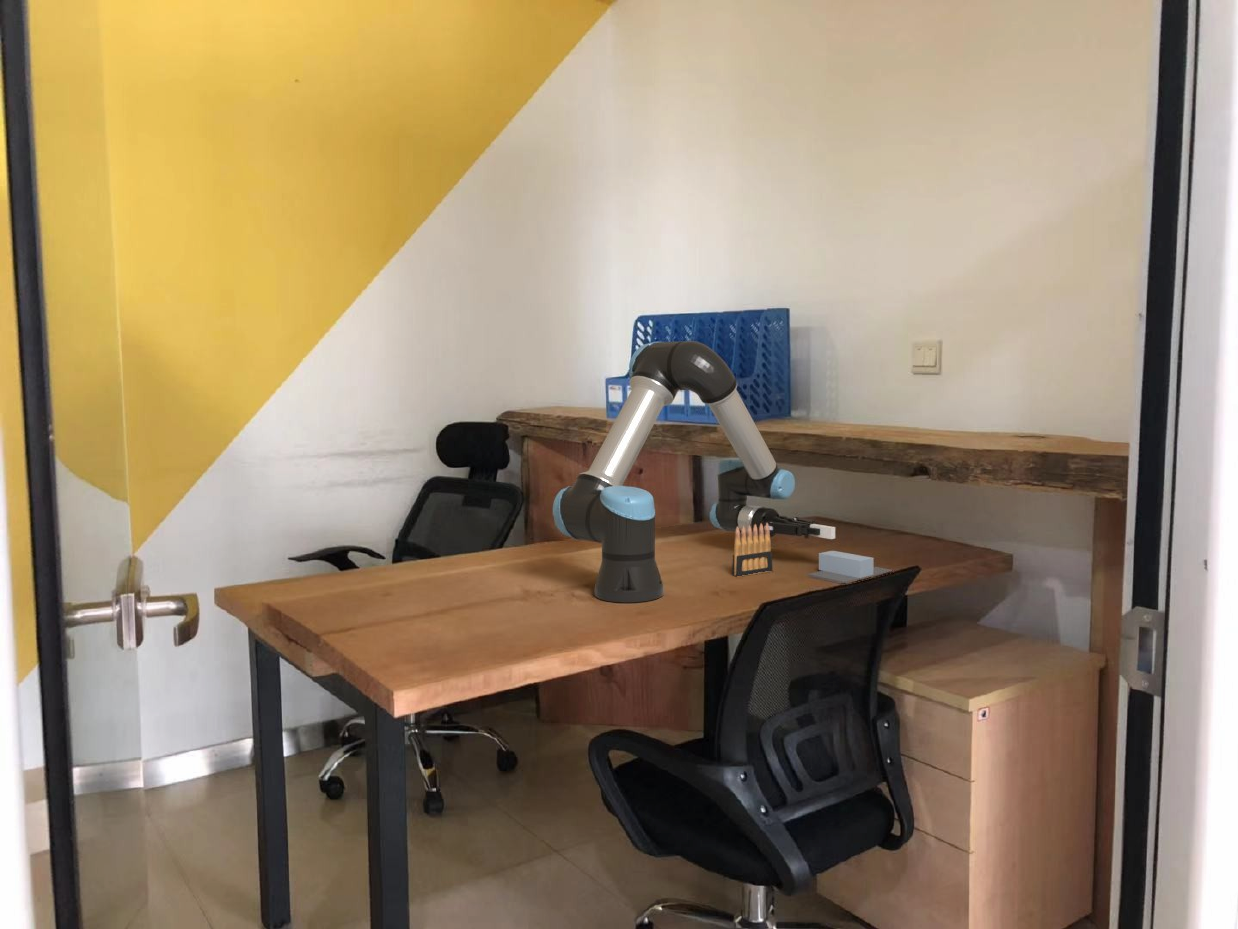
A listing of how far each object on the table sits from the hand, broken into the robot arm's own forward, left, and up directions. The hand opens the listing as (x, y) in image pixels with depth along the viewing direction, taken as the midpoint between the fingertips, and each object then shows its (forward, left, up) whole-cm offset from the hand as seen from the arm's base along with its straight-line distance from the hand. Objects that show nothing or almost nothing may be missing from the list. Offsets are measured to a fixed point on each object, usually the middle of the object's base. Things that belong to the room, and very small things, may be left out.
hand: (833, 533), depth 226 cm
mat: (+1, -5, -9) cm, 10 cm away
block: (0, +2, -7) cm, 7 cm away
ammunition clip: (-15, +12, -10) cm, 22 cm away
